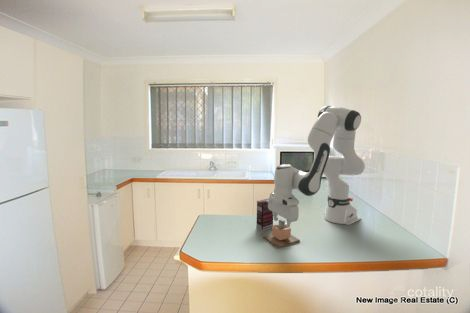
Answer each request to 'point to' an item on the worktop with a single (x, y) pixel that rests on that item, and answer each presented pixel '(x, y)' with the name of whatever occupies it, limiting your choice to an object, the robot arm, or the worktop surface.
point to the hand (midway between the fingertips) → (281, 223)
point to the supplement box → (264, 215)
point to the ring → (281, 232)
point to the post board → (281, 243)
